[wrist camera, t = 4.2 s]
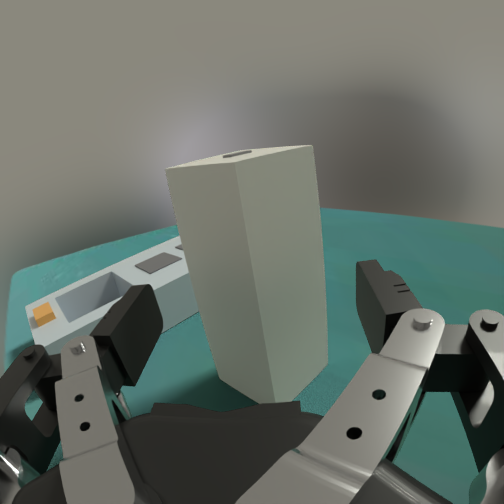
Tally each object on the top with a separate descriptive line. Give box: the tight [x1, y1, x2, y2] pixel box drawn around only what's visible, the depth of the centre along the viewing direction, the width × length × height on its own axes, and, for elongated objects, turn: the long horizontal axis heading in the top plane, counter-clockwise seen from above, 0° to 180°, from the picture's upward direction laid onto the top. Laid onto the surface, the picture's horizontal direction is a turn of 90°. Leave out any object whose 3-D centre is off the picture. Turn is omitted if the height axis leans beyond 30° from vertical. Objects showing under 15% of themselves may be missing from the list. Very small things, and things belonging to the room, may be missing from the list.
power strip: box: [25, 236, 199, 355], centre depth 25 cm, size 20×9×4 cm, turn 136°
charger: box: [165, 145, 328, 404], centre depth 15 cm, size 4×4×12 cm
